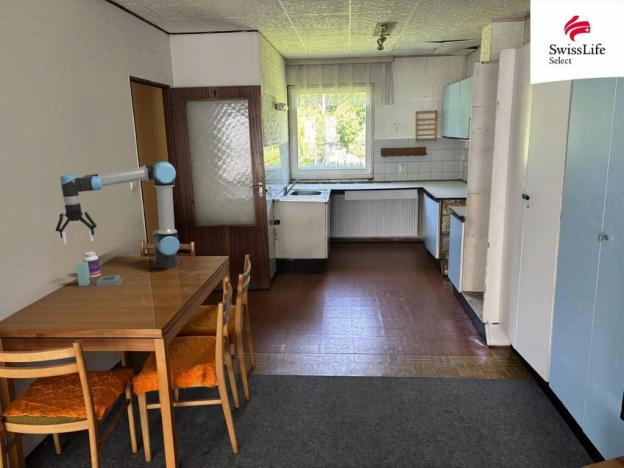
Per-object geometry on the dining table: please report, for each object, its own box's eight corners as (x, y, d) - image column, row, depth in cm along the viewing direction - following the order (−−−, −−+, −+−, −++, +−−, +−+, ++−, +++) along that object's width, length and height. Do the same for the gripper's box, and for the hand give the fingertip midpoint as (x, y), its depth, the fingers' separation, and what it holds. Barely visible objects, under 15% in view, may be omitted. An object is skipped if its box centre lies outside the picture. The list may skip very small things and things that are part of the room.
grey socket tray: (123, 279, 269) (123, 274, 268) (120, 285, 258) (119, 280, 257) (97, 282, 266) (97, 276, 265) (93, 288, 255) (92, 282, 255)
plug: (89, 282, 263) (86, 262, 260) (88, 285, 259) (84, 264, 256) (81, 283, 262) (77, 263, 260) (79, 286, 258) (75, 265, 255)
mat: (95, 282, 266) (95, 281, 266) (91, 287, 257) (91, 286, 257) (78, 283, 264) (77, 282, 264) (73, 288, 255) (73, 287, 255)
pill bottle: (103, 274, 281) (100, 250, 277) (96, 278, 273) (92, 254, 270) (90, 274, 281) (87, 251, 278) (83, 278, 274) (79, 254, 270)
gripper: (98, 200, 257) (104, 238, 262) (49, 204, 252) (56, 242, 257) (95, 202, 250) (101, 241, 254) (44, 206, 245) (51, 246, 249)
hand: (78, 242), depth 256 cm, fingers open, 13 cm apart
